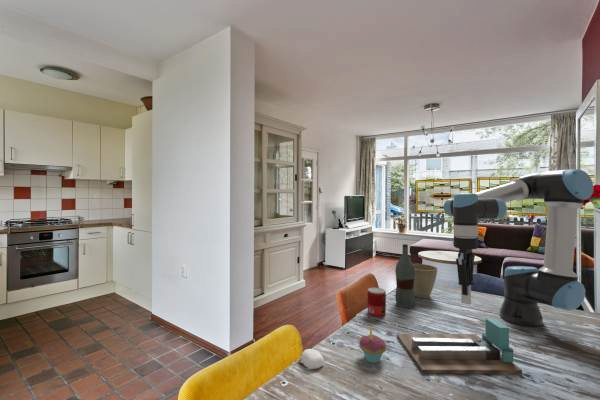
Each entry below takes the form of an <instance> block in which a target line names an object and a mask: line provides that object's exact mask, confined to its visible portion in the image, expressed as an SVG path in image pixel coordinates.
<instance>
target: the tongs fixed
mask: <svg viewBox="0 0 600 400" xmlns="http://www.w3.org/2000/svg"><path fill="white" fill-rule="evenodd" d="M472 341H474V342H475V347H466V346H419V357H420V358H421V359H422V360H500V353H501V350H500V349H499V348H498V347H496V346H495V345H494V344H491V343H489V342H488V341H487V340H485V339H482V338H481V339H472Z"/></svg>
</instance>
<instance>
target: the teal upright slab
mask: <svg viewBox="0 0 600 400" xmlns="http://www.w3.org/2000/svg"><path fill="white" fill-rule="evenodd" d="M481 339H485V340H487V341H488V342H489V343H491V344H492V345H493V346H494V347H496V348H497V349H498V350H500V351H501V354H502V361H503V362H512V363H514V348H512V347H511V346H510V327H509V326H507V325H505V324H504V323H502V322H500V321H499V320H497V319H496V318H485V332H483V333H481Z"/></svg>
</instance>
